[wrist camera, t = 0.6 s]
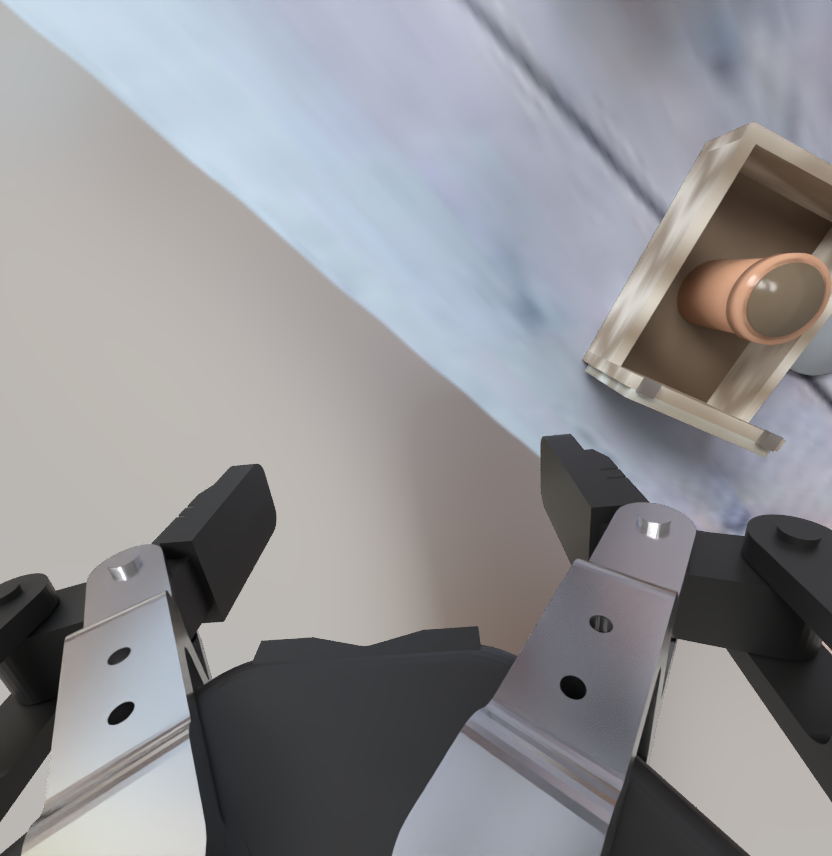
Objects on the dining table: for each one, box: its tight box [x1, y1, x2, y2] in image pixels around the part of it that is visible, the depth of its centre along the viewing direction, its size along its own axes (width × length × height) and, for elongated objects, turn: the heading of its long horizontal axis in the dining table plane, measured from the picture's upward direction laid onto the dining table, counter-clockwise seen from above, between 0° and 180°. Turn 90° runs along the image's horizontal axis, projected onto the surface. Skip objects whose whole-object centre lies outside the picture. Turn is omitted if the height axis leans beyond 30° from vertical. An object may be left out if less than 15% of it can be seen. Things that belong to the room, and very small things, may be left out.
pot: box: [677, 253, 831, 345], centre depth 33 cm, size 6×6×8 cm
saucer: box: [790, 314, 832, 375], centre depth 38 cm, size 8×8×1 cm
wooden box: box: [583, 121, 832, 457], centre depth 33 cm, size 20×14×10 cm
